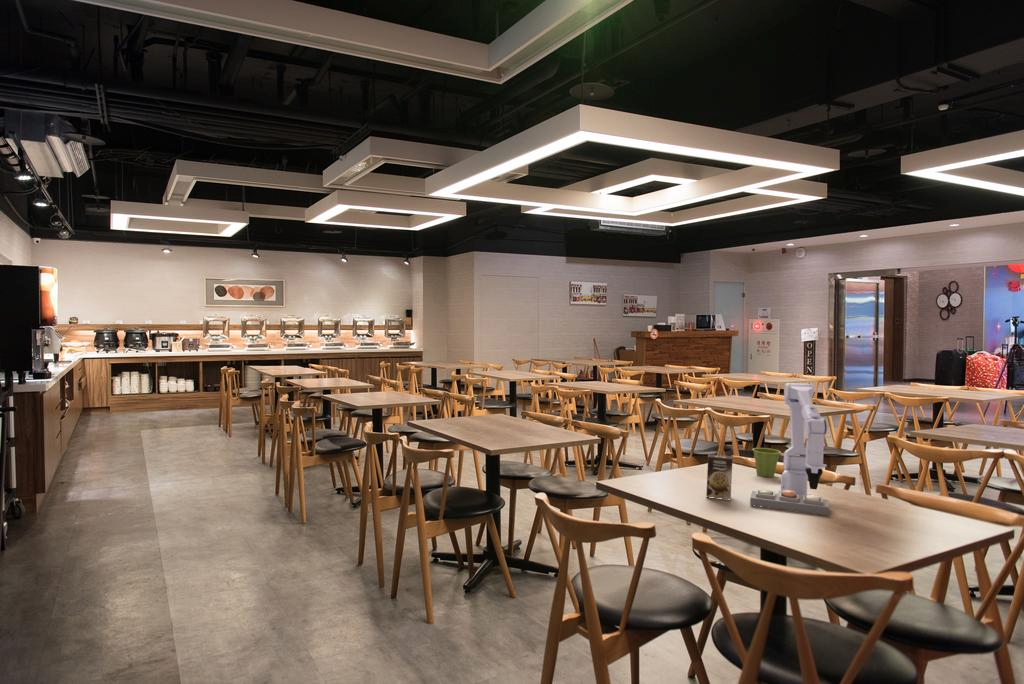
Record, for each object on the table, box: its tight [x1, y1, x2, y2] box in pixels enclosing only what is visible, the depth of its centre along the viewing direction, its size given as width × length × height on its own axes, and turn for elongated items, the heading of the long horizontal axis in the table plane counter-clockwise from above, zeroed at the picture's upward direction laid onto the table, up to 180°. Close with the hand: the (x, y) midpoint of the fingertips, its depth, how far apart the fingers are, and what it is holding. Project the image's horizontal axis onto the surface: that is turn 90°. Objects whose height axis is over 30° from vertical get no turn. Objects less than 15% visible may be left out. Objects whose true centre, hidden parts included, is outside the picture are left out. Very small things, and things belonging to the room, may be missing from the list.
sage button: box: [758, 489, 773, 495], centre depth 238 cm, size 4×4×2 cm
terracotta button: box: [783, 490, 796, 497], centre depth 234 cm, size 4×4×2 cm
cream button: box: [806, 494, 821, 501], centre depth 231 cm, size 4×4×2 cm
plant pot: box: [751, 447, 782, 478], centre depth 282 cm, size 12×12×11 cm
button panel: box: [749, 489, 830, 517], centre depth 234 cm, size 26×11×4 cm, turn 66°
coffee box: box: [705, 453, 733, 500], centre depth 245 cm, size 9×6×16 cm
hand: (813, 488), depth 231 cm, fingers closed
